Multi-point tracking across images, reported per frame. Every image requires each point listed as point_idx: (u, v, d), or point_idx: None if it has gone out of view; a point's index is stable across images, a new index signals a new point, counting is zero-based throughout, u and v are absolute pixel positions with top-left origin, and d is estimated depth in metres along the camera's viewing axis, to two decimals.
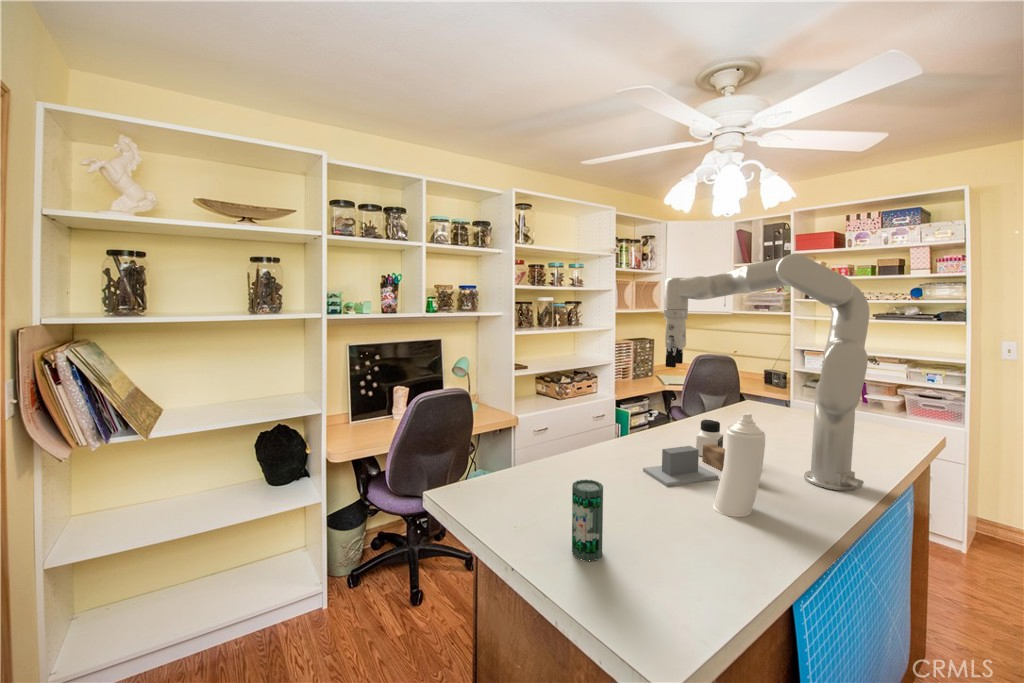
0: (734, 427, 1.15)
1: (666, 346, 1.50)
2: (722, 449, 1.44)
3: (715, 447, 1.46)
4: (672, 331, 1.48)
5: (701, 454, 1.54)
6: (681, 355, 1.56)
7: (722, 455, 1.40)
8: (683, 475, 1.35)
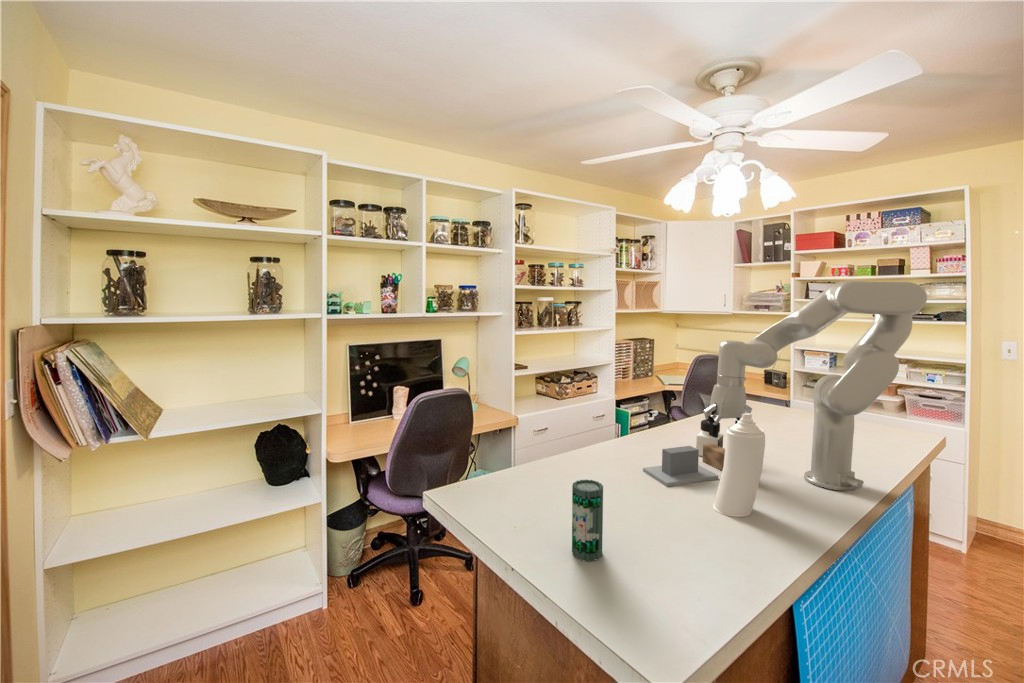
0: (734, 427, 1.15)
1: None
2: (722, 449, 1.44)
3: (715, 447, 1.46)
4: None
5: (701, 454, 1.54)
6: None
7: (722, 455, 1.40)
8: (683, 475, 1.35)
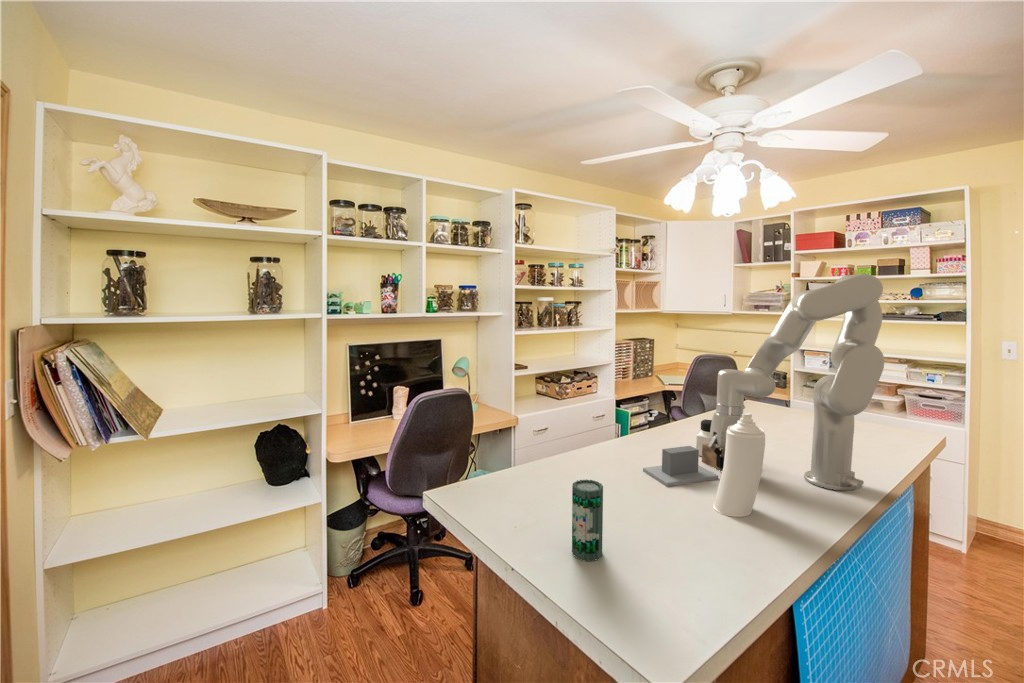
0: (734, 427, 1.15)
1: None
2: None
3: None
4: None
5: (701, 454, 1.54)
6: None
7: None
8: (683, 475, 1.35)
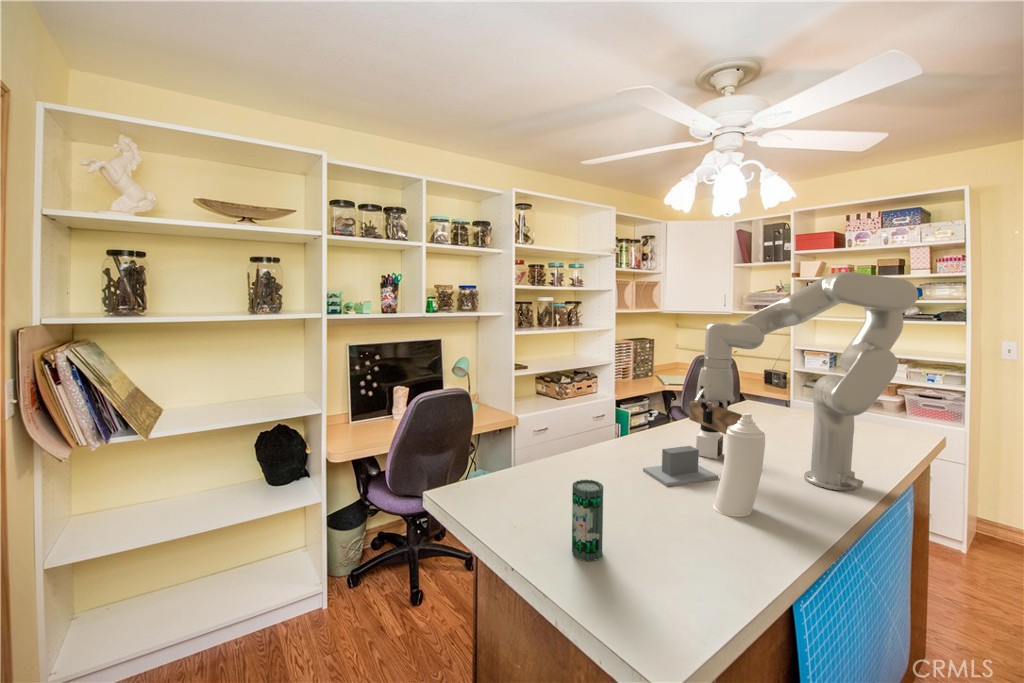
0: (734, 427, 1.15)
1: (732, 397, 1.38)
2: None
3: None
4: None
5: (701, 454, 1.54)
6: None
7: None
8: (683, 475, 1.35)
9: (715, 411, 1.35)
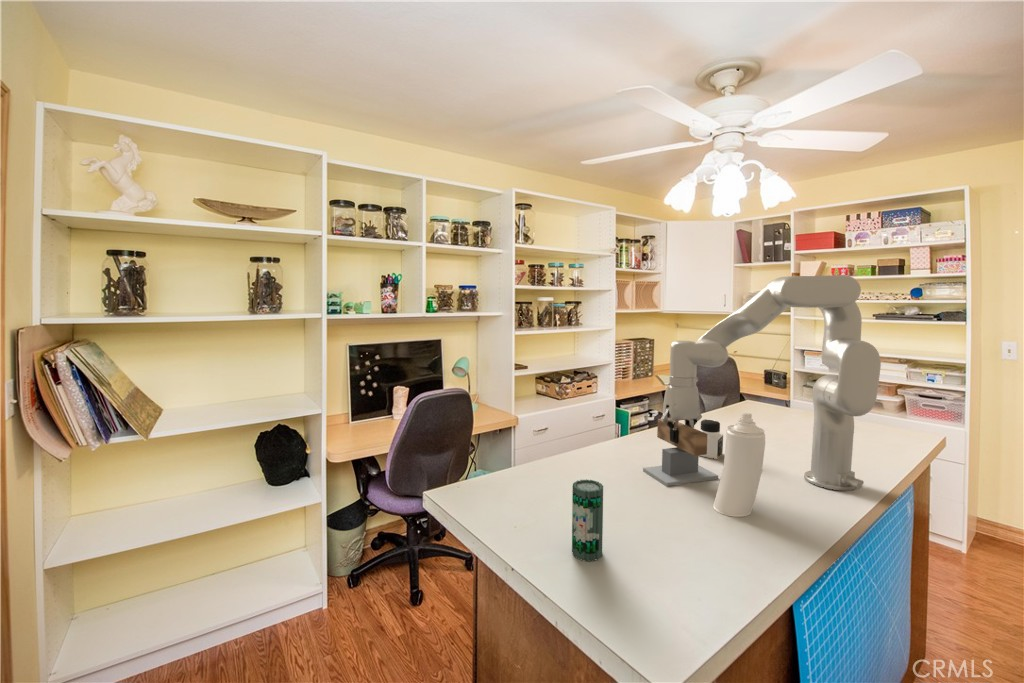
0: (734, 427, 1.15)
1: (698, 415, 1.37)
2: None
3: None
4: None
5: None
6: None
7: None
8: (683, 475, 1.35)
9: (681, 430, 1.34)
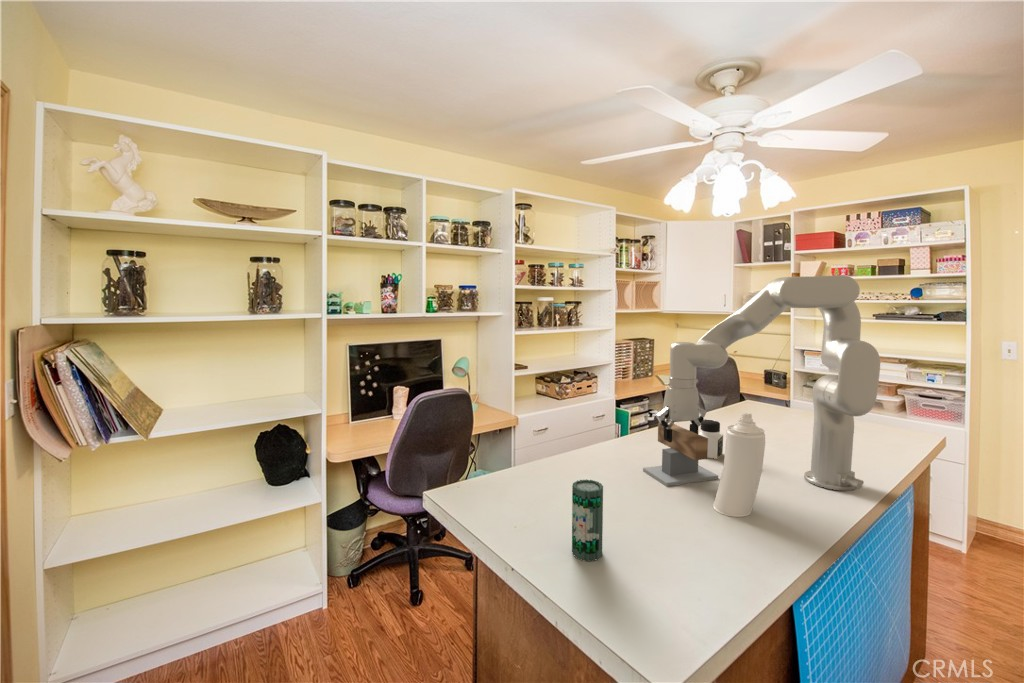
0: (734, 427, 1.15)
1: (698, 416, 1.37)
2: (676, 426, 1.41)
3: None
4: None
5: None
6: None
7: (675, 432, 1.37)
8: (683, 475, 1.35)
9: (681, 434, 1.34)
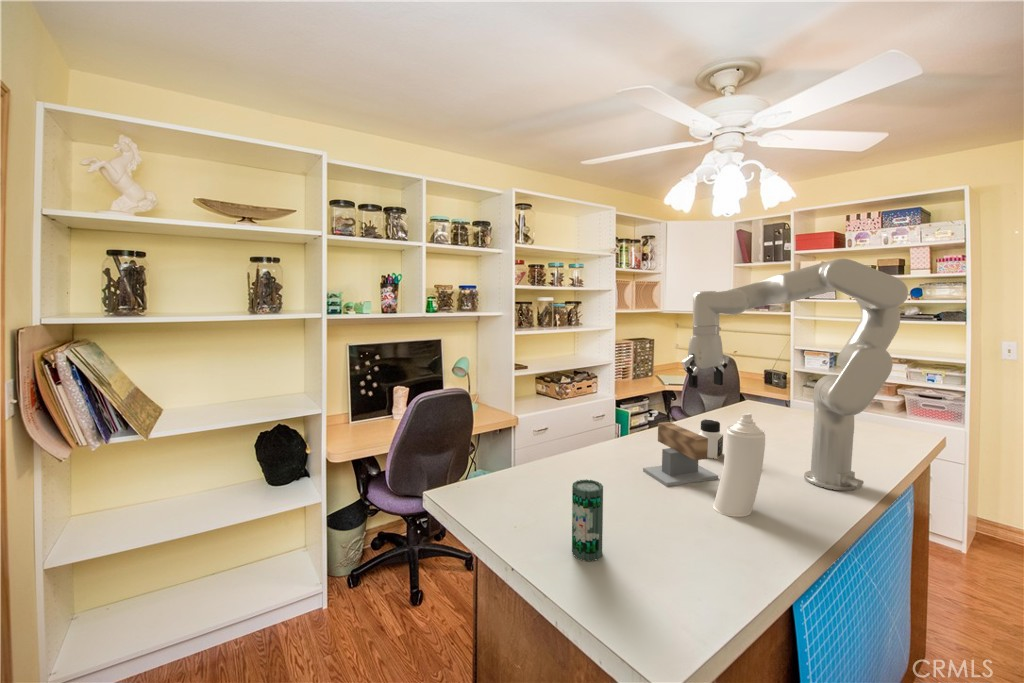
0: (734, 427, 1.15)
1: (722, 363, 1.41)
2: (676, 426, 1.41)
3: (670, 425, 1.42)
4: None
5: None
6: None
7: (675, 432, 1.37)
8: (683, 475, 1.35)
9: (681, 434, 1.34)
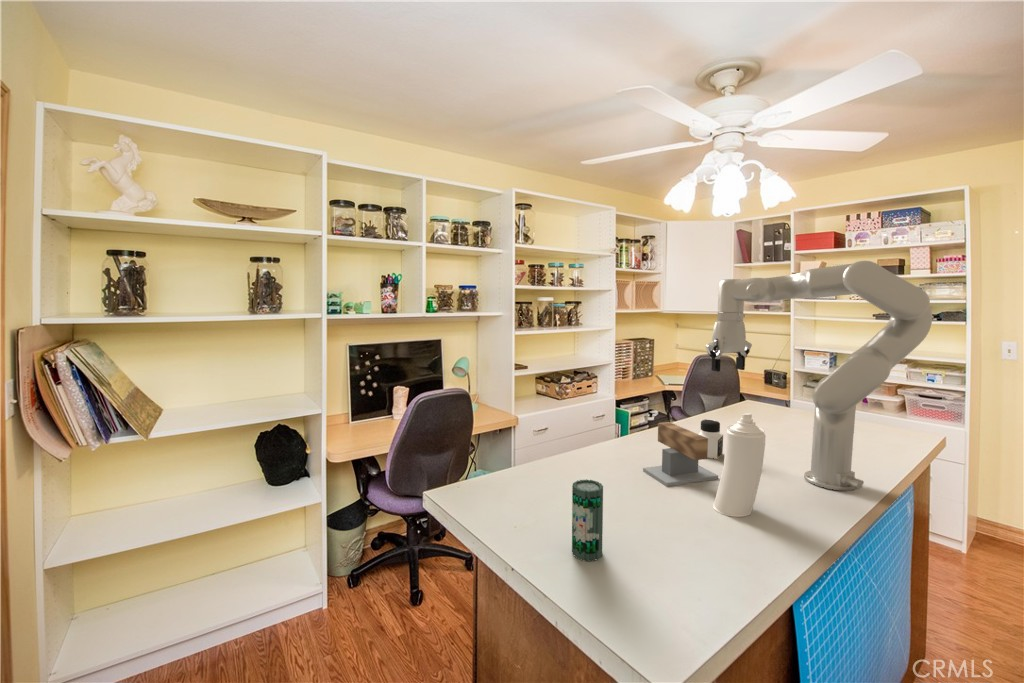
0: (734, 427, 1.15)
1: (744, 349, 1.47)
2: (676, 426, 1.41)
3: (670, 425, 1.42)
4: None
5: None
6: None
7: (675, 432, 1.37)
8: (683, 475, 1.35)
9: (681, 434, 1.34)
